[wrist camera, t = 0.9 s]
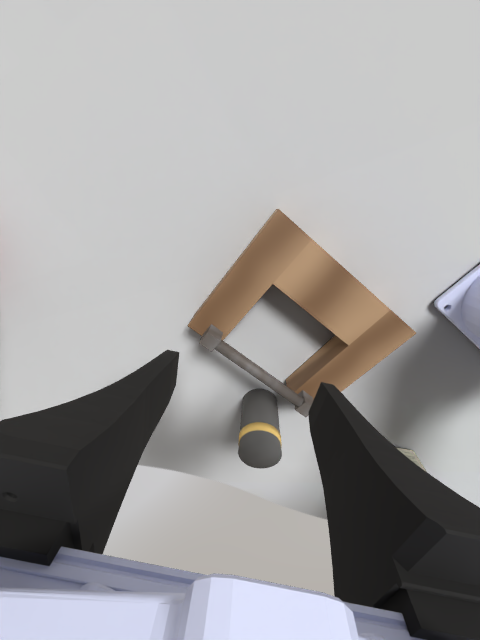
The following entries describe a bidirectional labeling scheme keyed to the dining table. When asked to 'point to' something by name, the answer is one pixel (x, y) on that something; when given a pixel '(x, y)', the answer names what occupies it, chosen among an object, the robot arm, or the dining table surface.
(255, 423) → the grey cylinder with band
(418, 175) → the dining table surface
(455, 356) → the dining table surface
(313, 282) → the wooden bracket with rod
